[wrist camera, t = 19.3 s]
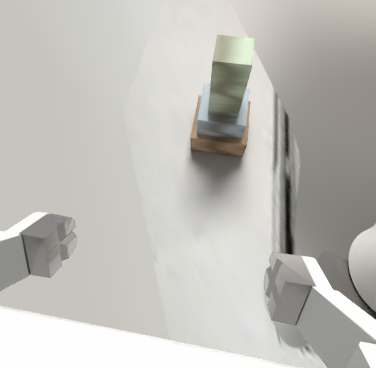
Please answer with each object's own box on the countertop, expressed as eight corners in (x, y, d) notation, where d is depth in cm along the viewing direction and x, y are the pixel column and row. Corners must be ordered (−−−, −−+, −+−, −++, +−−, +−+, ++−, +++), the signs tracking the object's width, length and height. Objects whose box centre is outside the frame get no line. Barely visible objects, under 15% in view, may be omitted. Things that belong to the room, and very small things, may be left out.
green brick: (240, 94, 40) (254, 38, 31) (237, 117, 38) (252, 65, 29) (211, 91, 41) (217, 35, 31) (207, 113, 39) (212, 61, 30)
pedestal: (245, 115, 48) (255, 85, 41) (242, 156, 44) (252, 131, 37) (198, 109, 49) (199, 79, 42) (190, 149, 45) (190, 123, 38)
